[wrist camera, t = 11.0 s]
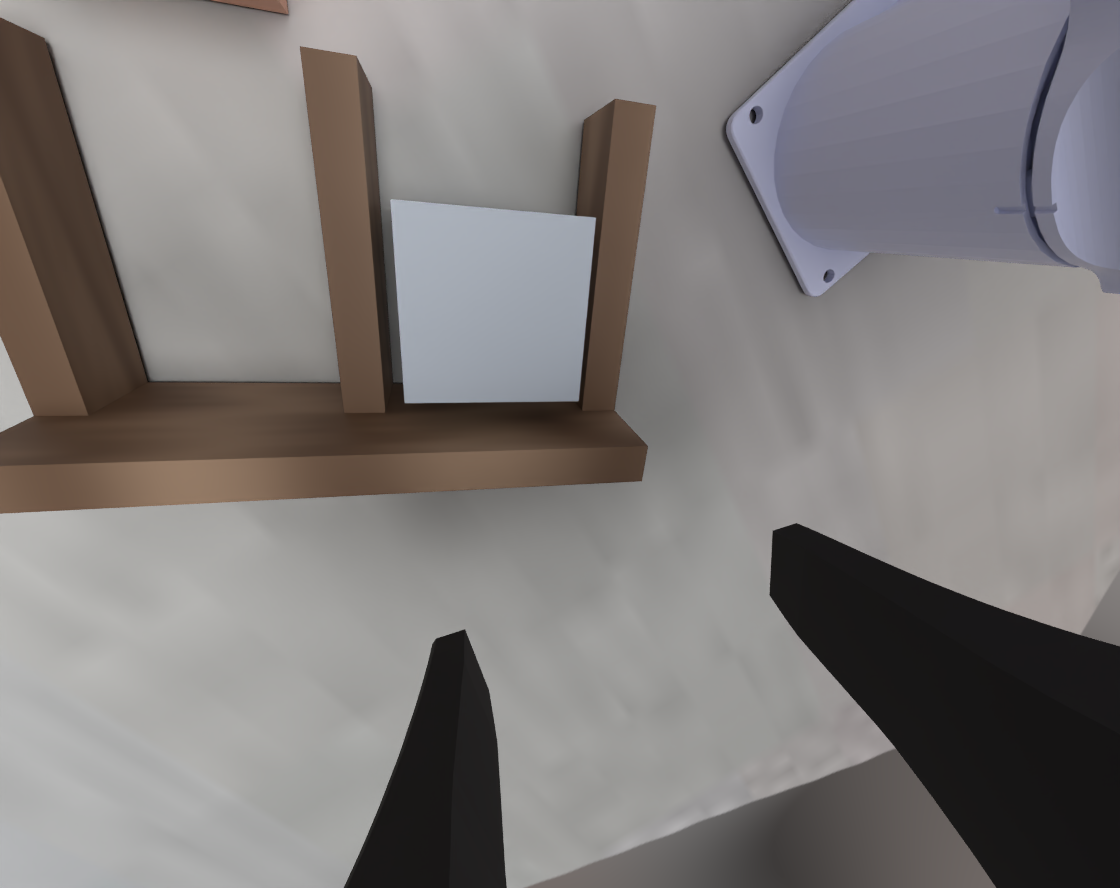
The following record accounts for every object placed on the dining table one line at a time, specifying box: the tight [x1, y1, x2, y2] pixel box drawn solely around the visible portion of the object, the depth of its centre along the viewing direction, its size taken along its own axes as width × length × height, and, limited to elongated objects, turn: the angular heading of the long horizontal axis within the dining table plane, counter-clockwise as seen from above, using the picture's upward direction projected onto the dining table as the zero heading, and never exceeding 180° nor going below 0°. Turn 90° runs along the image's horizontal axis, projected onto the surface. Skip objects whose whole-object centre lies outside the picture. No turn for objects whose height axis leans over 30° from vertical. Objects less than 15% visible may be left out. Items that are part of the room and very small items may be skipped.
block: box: [390, 199, 596, 403], centre depth 15 cm, size 5×5×5 cm
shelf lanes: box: [0, 18, 656, 514], centre depth 13 cm, size 17×10×6 cm, turn 86°
